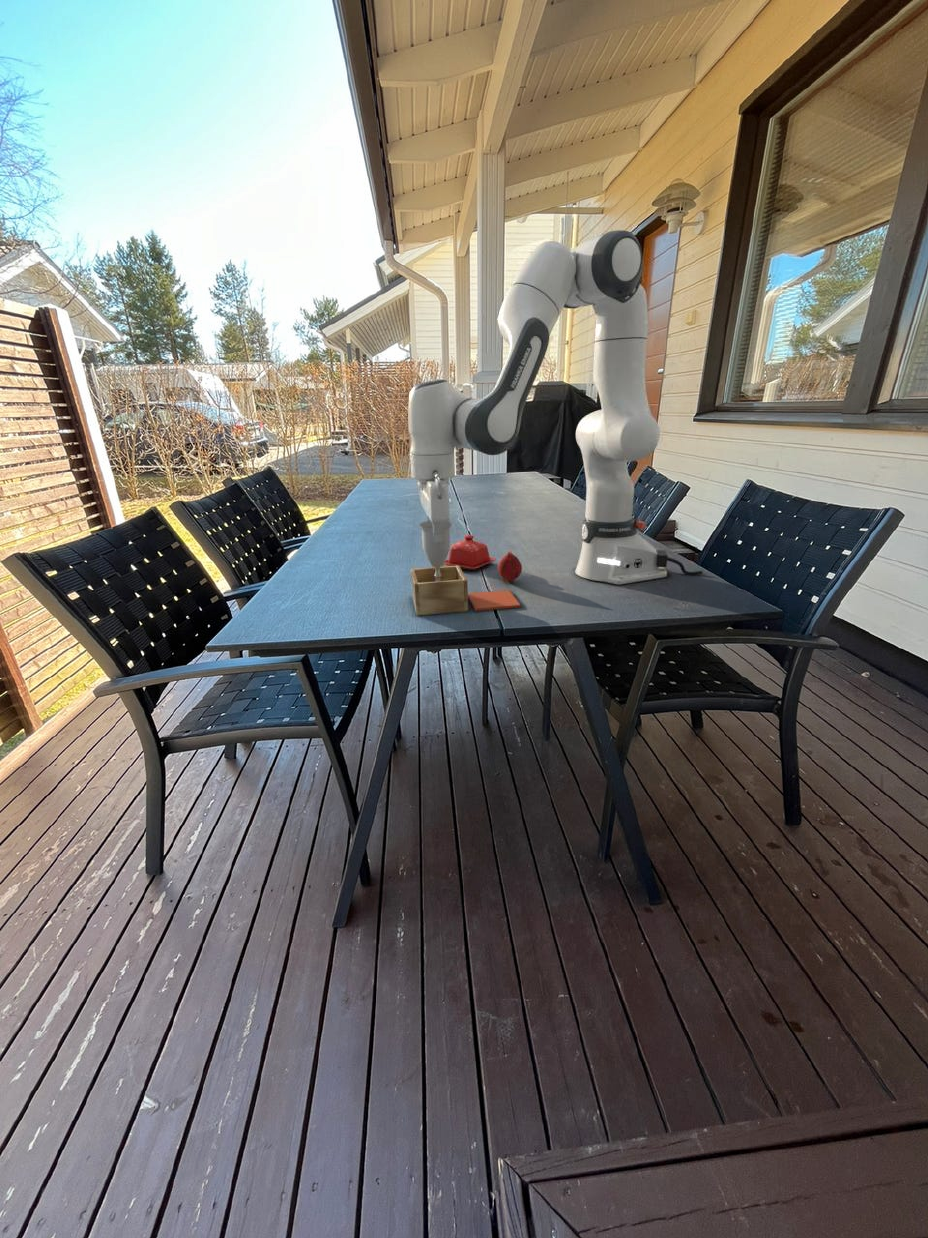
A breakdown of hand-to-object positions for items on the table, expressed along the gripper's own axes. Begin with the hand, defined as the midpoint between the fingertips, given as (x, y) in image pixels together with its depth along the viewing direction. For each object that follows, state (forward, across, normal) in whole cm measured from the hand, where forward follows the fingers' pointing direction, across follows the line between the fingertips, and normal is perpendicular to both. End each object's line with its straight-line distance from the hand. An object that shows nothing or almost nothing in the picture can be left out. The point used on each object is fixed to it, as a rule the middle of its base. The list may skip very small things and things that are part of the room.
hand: (435, 536), depth 111 cm
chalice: (+16, 0, 0) cm, 16 cm away
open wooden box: (+15, 0, 0) cm, 15 cm away
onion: (+15, +11, -19) cm, 27 cm away
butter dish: (+15, +28, -12) cm, 34 cm away
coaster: (+15, -1, -12) cm, 20 cm away
